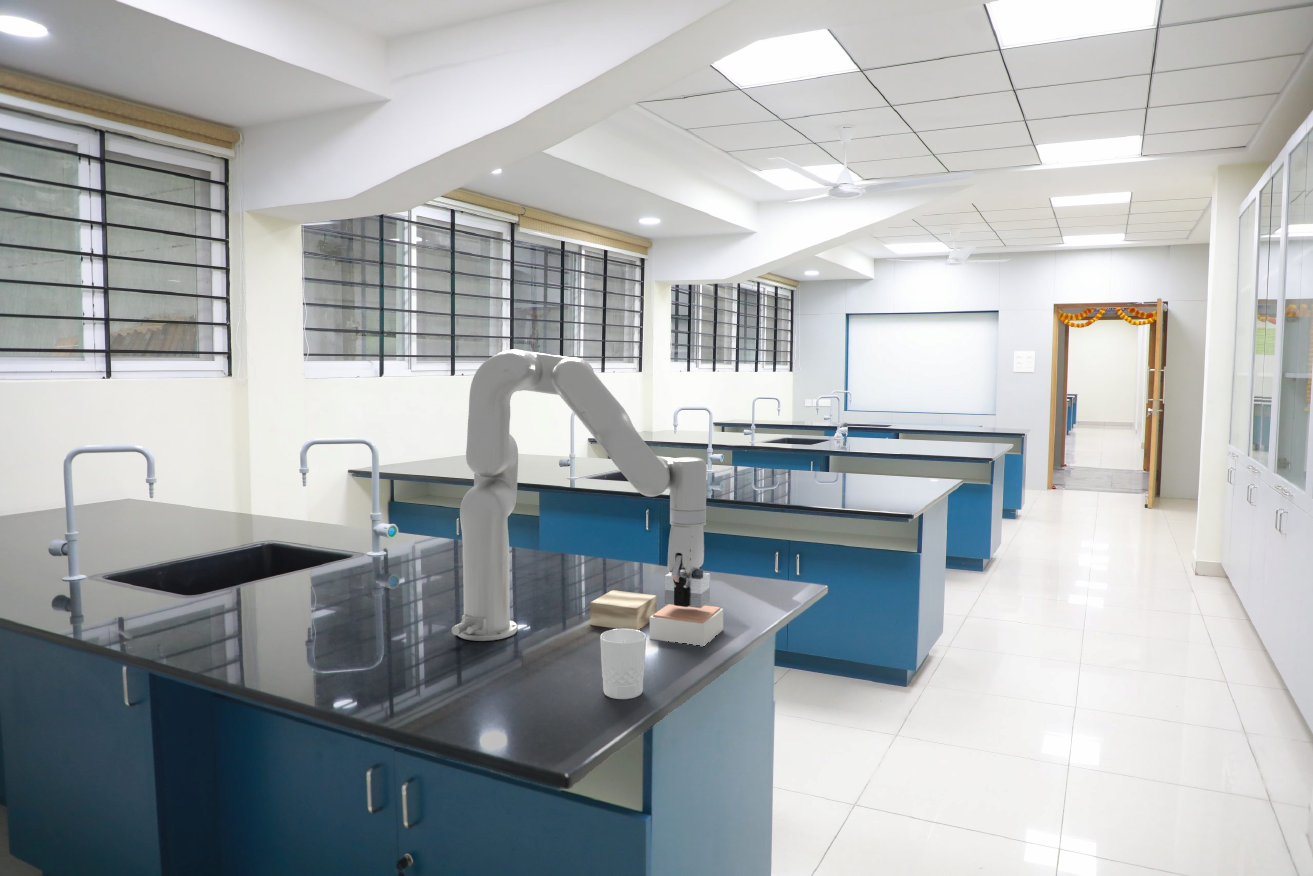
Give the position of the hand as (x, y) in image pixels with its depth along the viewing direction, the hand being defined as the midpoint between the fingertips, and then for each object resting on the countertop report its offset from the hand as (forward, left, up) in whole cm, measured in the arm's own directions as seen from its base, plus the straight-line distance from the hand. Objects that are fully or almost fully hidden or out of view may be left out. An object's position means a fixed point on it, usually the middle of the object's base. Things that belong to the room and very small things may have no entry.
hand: (687, 601), depth 175 cm
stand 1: (+3, +16, -7) cm, 18 cm away
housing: (0, 0, 0) cm, 0 cm away
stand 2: (0, 0, -7) cm, 7 cm away
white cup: (-34, -1, -7) cm, 35 cm away
